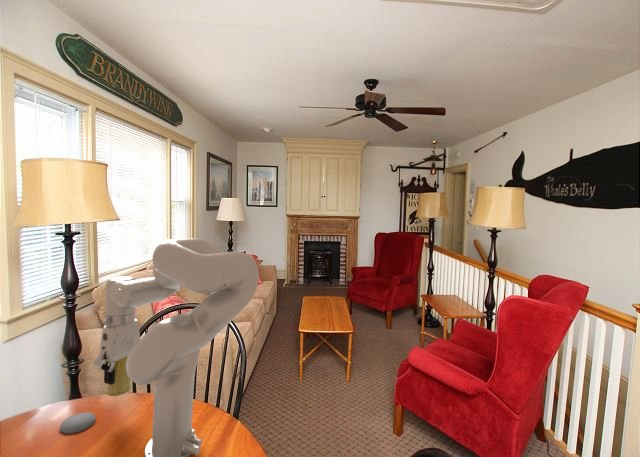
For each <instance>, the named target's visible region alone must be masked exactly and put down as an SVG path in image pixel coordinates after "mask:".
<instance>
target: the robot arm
mask: <svg viewBox="0 0 640 457" xmlns="http://www.w3.org/2000/svg"><path fill="white" fill-rule="evenodd" d="M152 264H153V268H152V272H153V273H152V274H153V276H152V277H145V278H139V279H136V278H135V277H133V276H126V275H125V276H124V275H123V276H114V277H111V278H109V279H107V281H106V283H105V313H104V314H105V316H104V317H105V319H103V320H102V324H103V325H104V326H103V327H102V331H101V334H100V335H101V336H100V343H99V354H98V356H97V357H96V359H95V360H94V362H93V366H94V367H97V368H99V369H100V370H101V371H103V383H104V384H107V385H108V384H110V385H112V384H114V383H115V371H114V370H113V368H114V364H115V362H116V361H118V360H121V359H123V358H125V357H127V356H128V358H127V362H126V372H127V375H128V377H129V378H130V382H131V381H132V382H133V383H134V384H137V385H141V386H145V385H149V384H152V383H154V382H155V386H154V394H153V395H154V396H153V397H154V398H153V416H152V431H151V432H152V435H151V437H152V438H151V439H150V440H149V441H148V443H147V444H146V446H145V448H144V457H189V456H191V455H192V454H193V455H195V456H198V455H199V453H200V452H201V448H202V447H201V445H202V443H203V439H201V438H198V437H197V435H196V430H195V428H192V426H193V407H194V406H193V405H194V393H195V391H194V388H195V377H196V370H197V364H198V361H199V357H200V351H201V348H203V347H205V346H207V345H208V344H210V342H211V341H212V340H213V339H214V338H216V337H217V335H218V334H219V333H221V331H223V329H224V328H227V326H228V325H229V324H230V323H231V321H233V320H234V319H235V318H236V317H237V316H239V314H240V313H241V312H242V311H244V309H245V308H246V307H247V306H248V305H249V303H250V302H251V300H252V299H253V298H254V296H255V293H256V291H257V289H258V286H259V280H260V278H259V277H260V274H259V273H260V272H259V266H258V264H257V262H256V260H255V258H254V257H253V256H252V255H250V254H249V253H246V252H241V251H226V252H225V251H224V252H217V253H215V249H214V246H213V245H212V244H211V243H210V242H209V241H207V240H205V239H204V238H198V237H191V238H186V237H185V238H171V239H166V240H164V241H162V242H160V243H159V244H158V245H157V246H156V247H155V248H154V251H153V253H152ZM181 287H184V288H185V289H186V290H189V291H190V292H193V293H196V294H208V295H207V296H205V297H204V298H203V299H202V301H201V302H200V303H198V305H196V307H194V308H193V309H191V310H188V311H186V312H182V313H180V314H176V315H172V316H170V317H167V318H165V319H162V320H160V321H158V322H157V323H155V324H154V325H153V326H152V327H151V328H149V330H148V331H147V332H146V333H145V334H144V335H143V336H142V337H141V334H140V333H141V332H140V326H139V321H138V319H136V310H137V308H136V307H140V306H141V307H142V306H144V305H147V304H152V303H153V304H154V303H157V302H160V301H163V300H165V299H168V298H169V297H171V296H172V295H174V294H176V293H177V292H179V291H180V289H181ZM109 362H110V365H109Z"/></svg>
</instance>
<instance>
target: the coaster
mask: <svg viewBox="0 0 640 457" xmlns="http://www.w3.org/2000/svg"><path fill="white" fill-rule="evenodd" d="M95 421H96V414H94V413H93V412H87V411H86V412H79V413H76V414H73V415H70V416H69V417H67V418H65V419H64V420H63V421H62V422H61V423H60V426H59V430H60V431H59V432H61V433H62V434H66V435H69V434H77V433H80V432H83V431H84V430H87V429H89V428H90V427H91V426H93V424H94V423H95Z"/></svg>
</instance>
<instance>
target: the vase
mask: <svg viewBox="0 0 640 457" xmlns="http://www.w3.org/2000/svg"><path fill="white" fill-rule="evenodd" d="M127 358H128V356H127V357H125V358H123V359H121V360H118V361H116V362H115V364H114V368H113V370H114V371H115V383H114V384H112V385H110V384H107V389H106V395H107V396H109V397H117V396H118V397H119V396H123V395H124V394H126V393H128V392H129V391H130V390H131V380H130V378H129V377H128V375H127V372H126V362H127ZM109 365H110V362H109V363H108V366H109Z"/></svg>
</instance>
